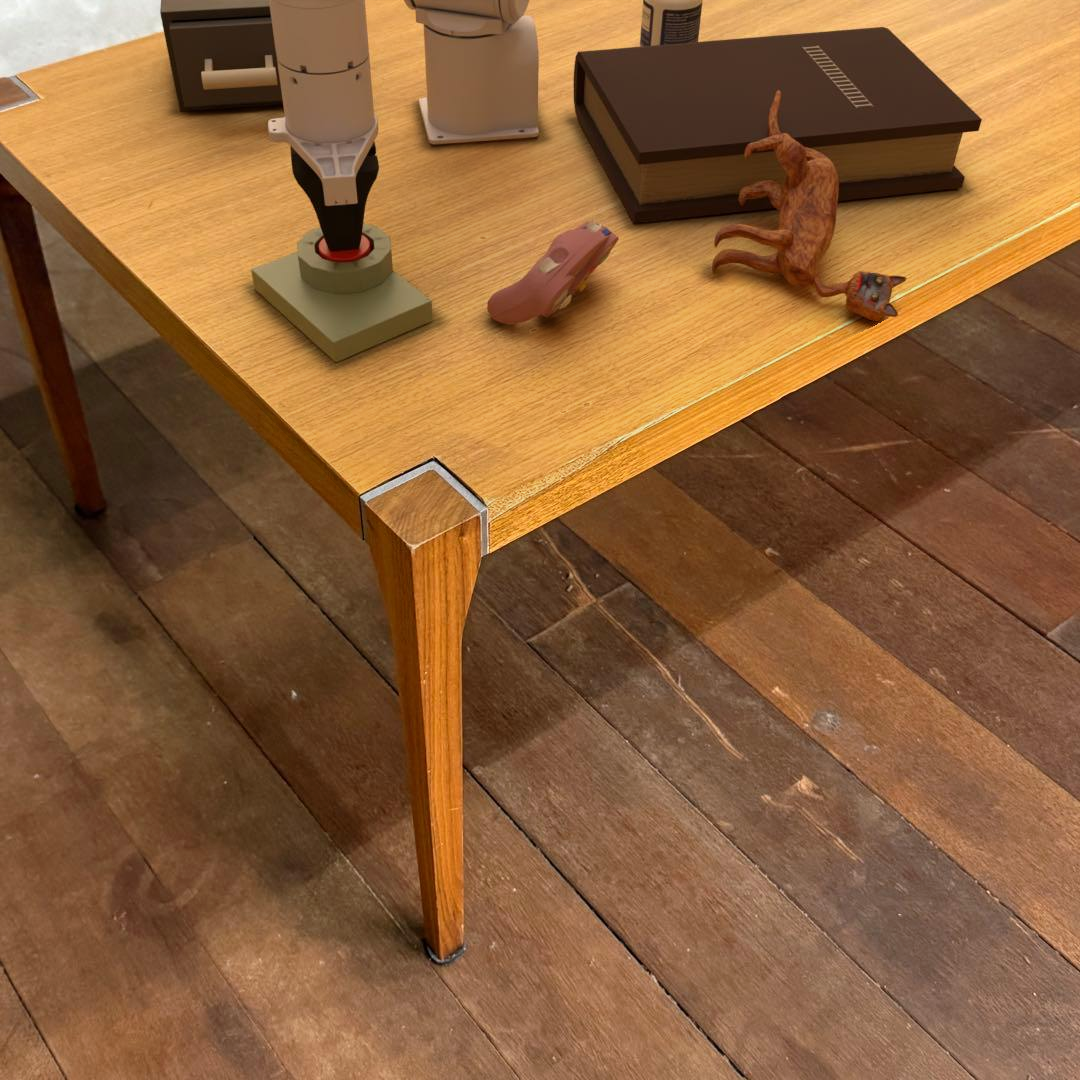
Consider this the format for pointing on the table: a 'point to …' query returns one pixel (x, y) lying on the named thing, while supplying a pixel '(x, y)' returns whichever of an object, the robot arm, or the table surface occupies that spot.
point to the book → (766, 118)
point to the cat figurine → (803, 225)
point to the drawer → (226, 60)
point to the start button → (345, 252)
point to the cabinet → (207, 4)
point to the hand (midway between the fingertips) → (343, 245)
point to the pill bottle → (670, 22)
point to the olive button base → (343, 295)
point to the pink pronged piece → (554, 275)
